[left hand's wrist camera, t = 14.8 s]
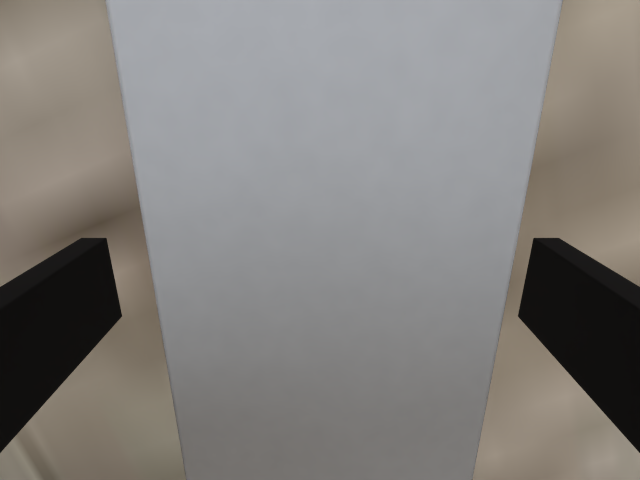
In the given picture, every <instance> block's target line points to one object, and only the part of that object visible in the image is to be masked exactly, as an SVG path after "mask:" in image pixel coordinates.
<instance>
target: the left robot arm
mask: <svg viewBox="0 0 640 480" xmlns="http://www.w3.org/2000/svg"><path fill="white" fill-rule="evenodd" d="M121 317H122V314H121V309H120V304H119V299H118V294H117V289H116V284H115V279H114V274H113V269H112V264H111V259H110V254H109V249H108V244H107V239H106V238H81V239H79V240H77V241H76V242H74V243H72V244H71V245H69V246H67V247H66V248H64V249H62V250H61V251H59V252H57V253H56V254H54V255H52V256H51V257H49V258H48V259H46V260H44V261H43V262H41V263H39V264H38V265H36V266H34V267H33V268H31V269H29V270H28V271H26V272H24V273H23V274H21V275H19V276H18V277H16V278H14V279H13V280H11V281H9V282H8V283H6V284H4V285H3V286H1V287H0V453H1V451H2V450H3V449H4V448H5V447H6V446H7V445H8V444H9V442H10V441H11V440H12V439H13V438H14V437H15V436H16V435H17V433H18V432H19V431H20V430H21V429H22V428H23V427H24V426H25V424H26V423H27V422H28V421H29V420H30V419H31V418H32V417H33V415H34V414H35V413H36V412H37V411H38V410H39V409H40V408H41V407H42V405H43V404H44V403H45V402H46V401H47V400H48V399H49V398H50V396H51V395H52V394H53V393H54V392H55V391H56V390H57V389H58V387H59V386H60V385H61V384H62V383H63V382H64V381H65V380H66V378H67V377H68V376H69V375H70V374H71V373H72V372H73V371H74V370H75V368H76V367H77V366H78V365H79V364H80V363H81V362H82V361H83V359H84V358H85V357H86V356H87V355H88V354H89V353H90V352H91V350H92V349H93V348H94V347H95V346H96V345H97V344H98V343H99V341H100V340H101V339H102V338H103V337H104V336H105V335H106V334H107V332H108V331H109V330H110V329H111V328H112V327H113V326H114V325H115V324H116V322H117V321H118V320H119V319H120V318H121ZM518 317H519V318H520V319H521V320H522V321H523V322H524V324H525V325H526V326H527V327H528V328H529V329H530V330H531V331H532V332H533V334H534V335H535V336H536V337H537V338H538V339H539V340H540V341H541V343H542V344H543V345H544V346H545V347H546V348H547V349H548V350H549V352H550V353H551V354H552V355H553V356H554V357H555V358H556V359H557V361H558V362H559V363H560V364H561V365H562V366H563V367H564V368H565V370H566V371H567V372H568V373H569V374H570V375H571V376H572V377H573V378H574V380H575V381H576V382H577V383H578V384H579V385H580V386H581V387H582V389H583V390H584V391H585V392H586V393H587V394H588V395H589V396H590V398H591V399H592V400H593V401H594V402H595V403H596V404H597V405H598V407H599V408H600V409H601V410H602V411H603V412H604V413H605V414H606V415H607V417H608V418H609V419H610V420H611V421H612V422H613V423H614V424H615V426H616V427H617V428H618V429H619V430H620V431H621V432H622V433H623V435H624V436H625V437H626V438H627V439H628V440H629V441H630V442H631V444H632V445H633V446H634V447H635V448H636V449H637V450H638V451H639V453H640V287H639V286H637V285H636V284H634V283H632V282H631V281H629V280H627V279H626V278H624V277H622V276H621V275H619V274H617V273H616V272H614V271H612V270H611V269H609V268H607V267H606V266H604V265H602V264H601V263H599V262H597V261H596V260H594V259H592V258H591V257H589V256H588V255H586V254H584V253H583V252H581V251H579V250H578V249H576V248H574V247H573V246H571V245H569V244H568V243H566V242H564V241H563V240H561V239H559V238H534V239H533V244H532V249H531V254H530V259H529V264H528V269H527V274H526V279H525V284H524V289H523V294H522V299H521V304H520V309H519V314H518Z"/></svg>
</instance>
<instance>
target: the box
mask: <svg viewBox="0 0 640 480" xmlns="http://www.w3.org/2000/svg"><path fill="white" fill-rule="evenodd" d="M562 2H563V0H106V6H107V12H108V18H109V24H110V30H111V36H112V42H113V48H114V54H115V60H116V66H117V71H118V77H119V83H120V89H121V95H122V101H123V107H124V113H125V119H126V125H127V131H128V137H129V143H130V148H131V154H132V160H133V166H134V172H135V178H136V184H137V190H138V196H139V202H140V208H141V214H142V220H143V225H144V231H145V237H146V243H147V249H148V255H149V261H150V267H151V273H152V279H153V285H154V291H155V297H156V302H157V308H158V314H159V320H160V326H161V332H162V338H163V344H164V350H165V356H166V362H167V368H168V374H169V379H170V385H171V391H172V397H173V403H174V409H175V415H176V421H177V427H178V433H179V439H180V445H181V451H182V456H183V462H184V468H185V474H186V480H472V478H473V473H474V467H475V462H476V457H477V451H478V446H479V441H480V436H481V430H482V425H483V420H484V414H485V409H486V404H487V398H488V393H489V388H490V383H491V377H492V372H493V367H494V361H495V356H496V351H497V346H498V340H499V335H500V330H501V324H502V319H503V314H504V309H505V303H506V298H507V293H508V287H509V282H510V277H511V272H512V266H513V261H514V256H515V250H516V245H517V240H518V234H519V229H520V224H521V219H522V213H523V208H524V203H525V197H526V192H527V187H528V182H529V176H530V171H531V166H532V160H533V155H534V150H535V145H536V139H537V134H538V129H539V123H540V118H541V113H542V107H543V102H544V97H545V92H546V86H547V81H548V76H549V70H550V65H551V60H552V55H553V49H554V44H555V39H556V33H557V28H558V23H559V18H560V12H561V7H562Z"/></svg>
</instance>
